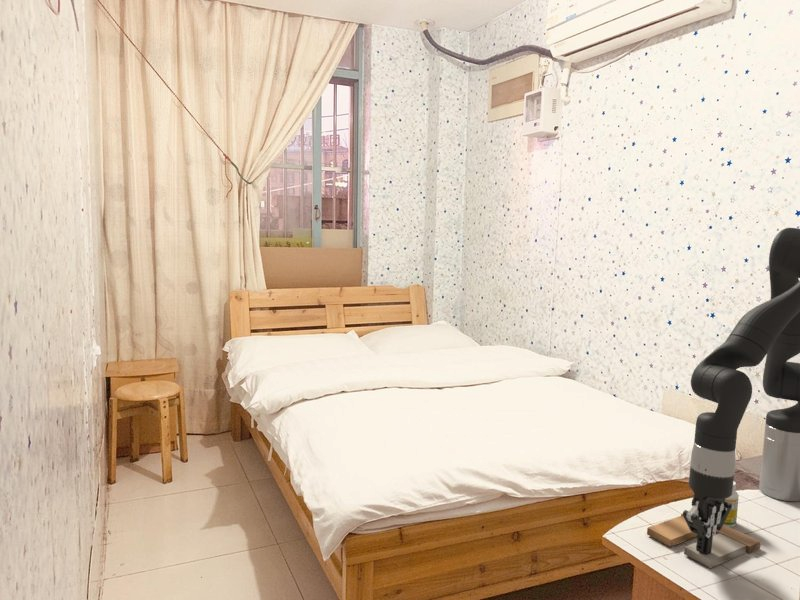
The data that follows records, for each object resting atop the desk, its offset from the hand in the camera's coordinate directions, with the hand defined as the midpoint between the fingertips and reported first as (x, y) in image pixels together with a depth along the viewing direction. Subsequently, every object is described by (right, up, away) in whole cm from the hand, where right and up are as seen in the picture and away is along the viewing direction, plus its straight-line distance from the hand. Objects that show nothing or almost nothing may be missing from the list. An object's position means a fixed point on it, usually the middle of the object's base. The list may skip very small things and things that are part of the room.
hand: (703, 552), depth 114 cm
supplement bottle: (+12, 0, +16) cm, 20 cm away
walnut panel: (+9, -1, +10) cm, 13 cm away
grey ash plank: (+4, -1, +2) cm, 5 cm away
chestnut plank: (-1, 0, +10) cm, 10 cm away
